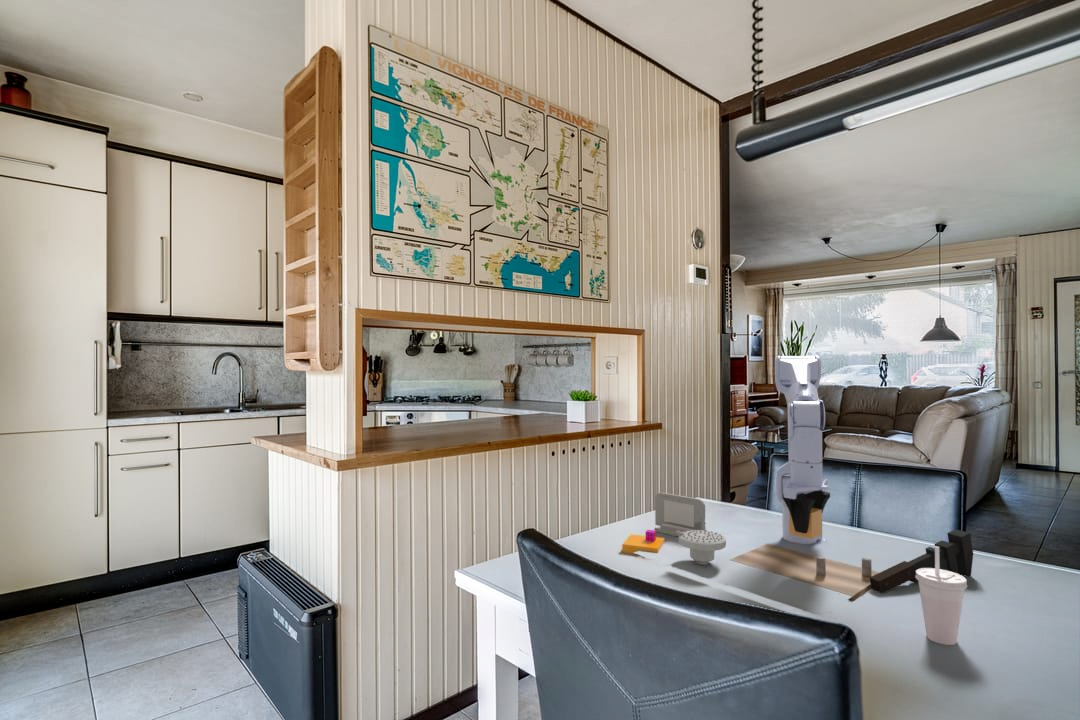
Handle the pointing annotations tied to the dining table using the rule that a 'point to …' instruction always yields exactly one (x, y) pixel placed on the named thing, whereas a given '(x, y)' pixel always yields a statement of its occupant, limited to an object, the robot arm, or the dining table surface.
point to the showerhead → (702, 544)
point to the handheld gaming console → (678, 514)
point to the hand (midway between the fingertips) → (806, 529)
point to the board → (812, 569)
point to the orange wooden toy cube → (813, 527)
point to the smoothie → (941, 601)
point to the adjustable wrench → (929, 562)
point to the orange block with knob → (643, 543)
